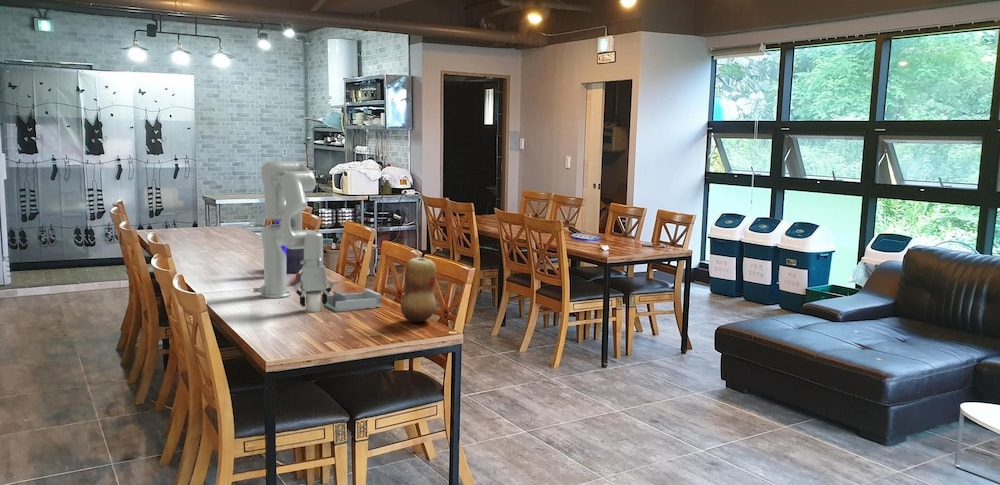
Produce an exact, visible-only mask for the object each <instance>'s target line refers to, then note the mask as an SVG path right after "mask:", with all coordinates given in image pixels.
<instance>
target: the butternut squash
mask: <svg viewBox="0 0 1000 485" xmlns="http://www.w3.org/2000/svg"><path fill="white" fill-rule="evenodd" d="M404 272H405V273H404V294H403V297H402V299H401V303H400V311H401V314H402V315H403V317H404V318H405V319H406V320H407V321H408V322H410V323H423V322H426V321H427V320H428V319H430V318H431V317H432V316H433V315H434V314H435V312H436V308H437V306H436V305H437V301H436V298H435V294H434V290H435V285H436V281H437V279H436V278H437V276H436V275H437V267H436V263H435V262H434V261H433V260H431V259H428V258H425V257H413V258H411V259H409V260H408V261H407V263H406V266H405V270H404Z"/></svg>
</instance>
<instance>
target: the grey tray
mask: <svg viewBox="0 0 1000 485" xmlns="http://www.w3.org/2000/svg"><path fill="white" fill-rule="evenodd" d="M341 294H342V295H345V301H338V302H335V305H334V304H333V294H332V295H327V302H326V305H324V304H323V306H324V307H326V308H328V309H330V310H331V311H333V312H337V313H338V312H339V313H340V312H347V311H354V310H355V311H357V310H358V309H359V310H366V309H365V308H369V309H376V307H379V308H382V294H381V293H379V292H376V291H375V290H372V289H370V288H365V289H363V292H354V293H341Z"/></svg>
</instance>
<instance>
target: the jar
mask: <svg viewBox="0 0 1000 485" xmlns="http://www.w3.org/2000/svg"><path fill="white" fill-rule="evenodd" d="M305 311H306V312H309V313H311V312H312V313H313V312H315V313H317V312H321V311H322V291H311V292H306V293H305Z"/></svg>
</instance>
